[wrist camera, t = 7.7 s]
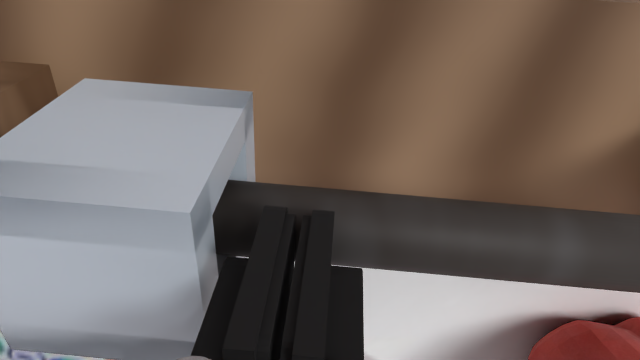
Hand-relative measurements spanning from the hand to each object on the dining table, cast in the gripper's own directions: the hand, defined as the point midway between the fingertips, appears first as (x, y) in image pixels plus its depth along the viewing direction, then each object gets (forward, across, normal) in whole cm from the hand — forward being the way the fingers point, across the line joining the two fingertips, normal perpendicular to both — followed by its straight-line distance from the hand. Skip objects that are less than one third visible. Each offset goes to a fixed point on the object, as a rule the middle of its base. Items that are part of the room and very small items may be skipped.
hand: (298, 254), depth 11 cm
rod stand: (+8, -2, 0) cm, 8 cm away
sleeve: (+4, +4, 0) cm, 6 cm away
